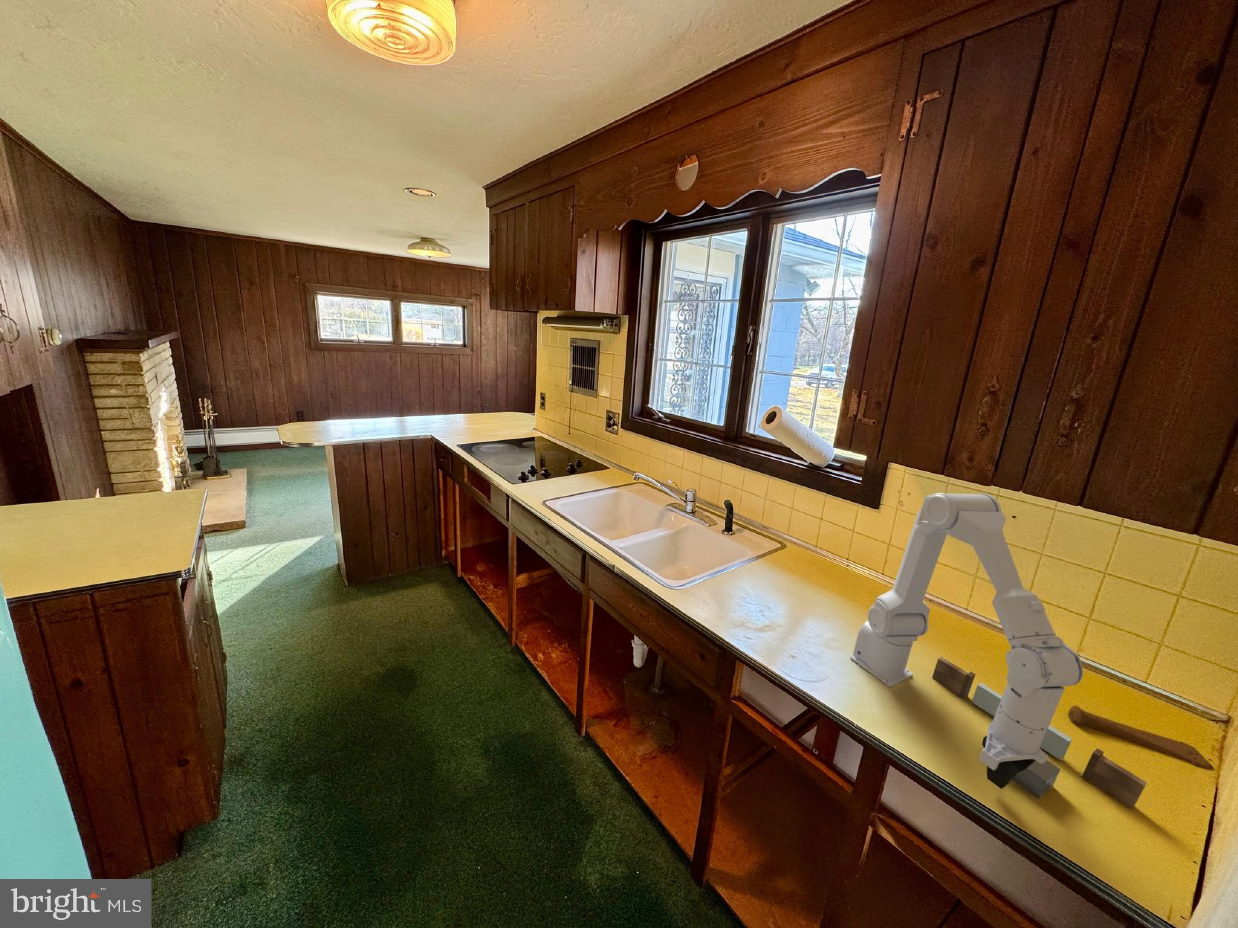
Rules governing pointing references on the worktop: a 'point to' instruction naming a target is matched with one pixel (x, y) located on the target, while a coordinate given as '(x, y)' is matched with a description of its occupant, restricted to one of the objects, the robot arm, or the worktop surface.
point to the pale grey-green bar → (1053, 738)
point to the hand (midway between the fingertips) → (996, 781)
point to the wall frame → (1098, 767)
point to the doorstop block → (1037, 778)
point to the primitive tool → (1140, 737)
